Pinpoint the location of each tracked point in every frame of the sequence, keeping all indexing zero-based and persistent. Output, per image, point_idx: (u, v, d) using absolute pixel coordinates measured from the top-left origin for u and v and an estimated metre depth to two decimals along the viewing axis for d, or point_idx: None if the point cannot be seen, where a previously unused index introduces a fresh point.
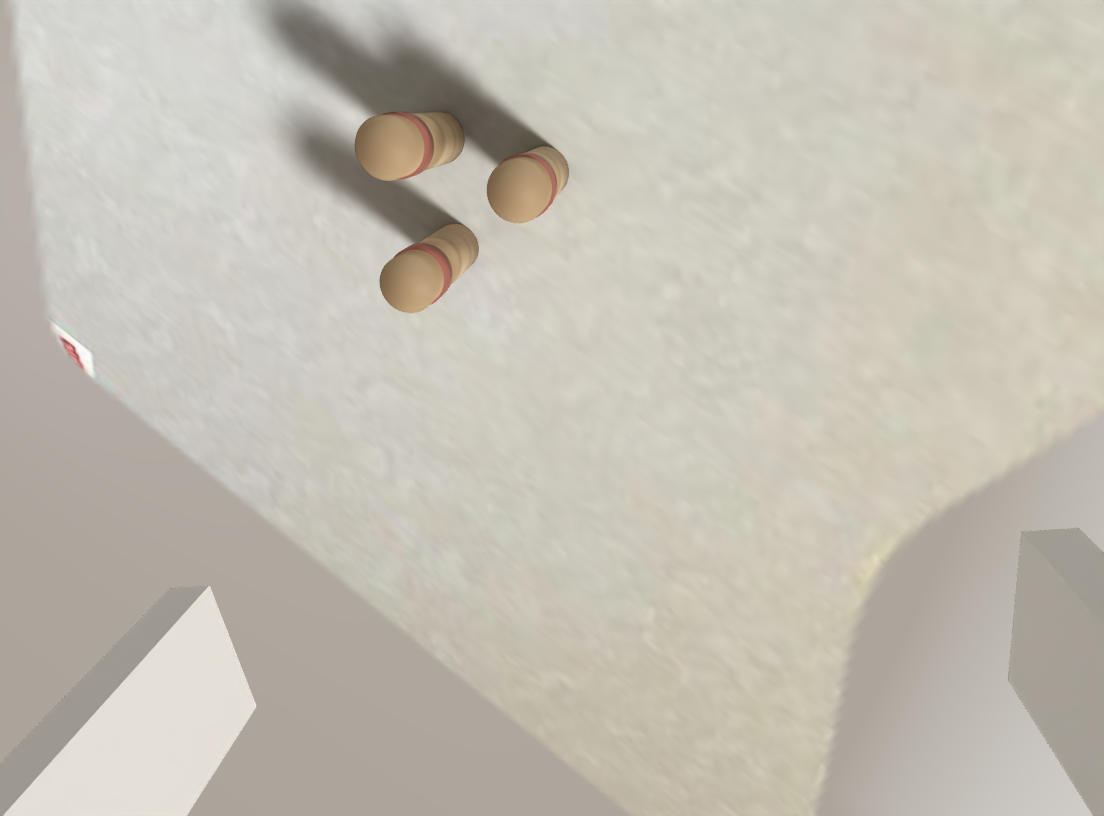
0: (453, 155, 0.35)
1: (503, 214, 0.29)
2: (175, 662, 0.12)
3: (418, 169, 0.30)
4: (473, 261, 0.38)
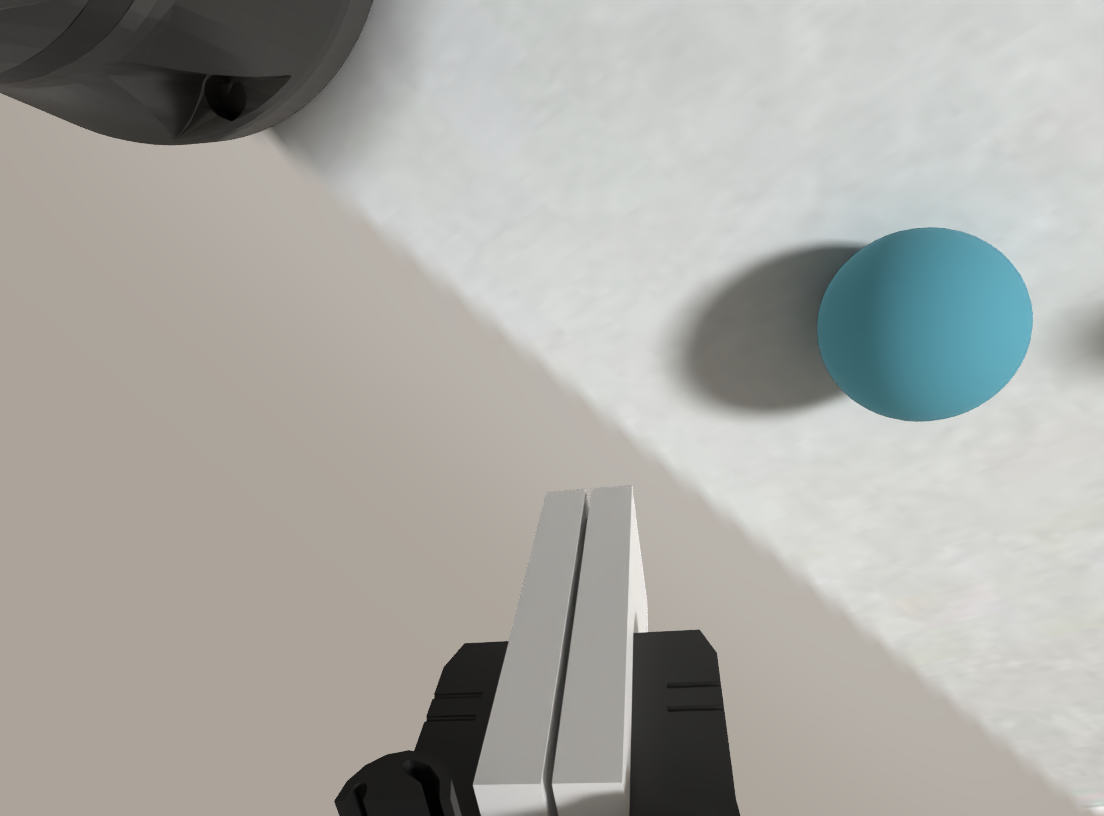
0: None
1: None
2: None
3: None
4: None
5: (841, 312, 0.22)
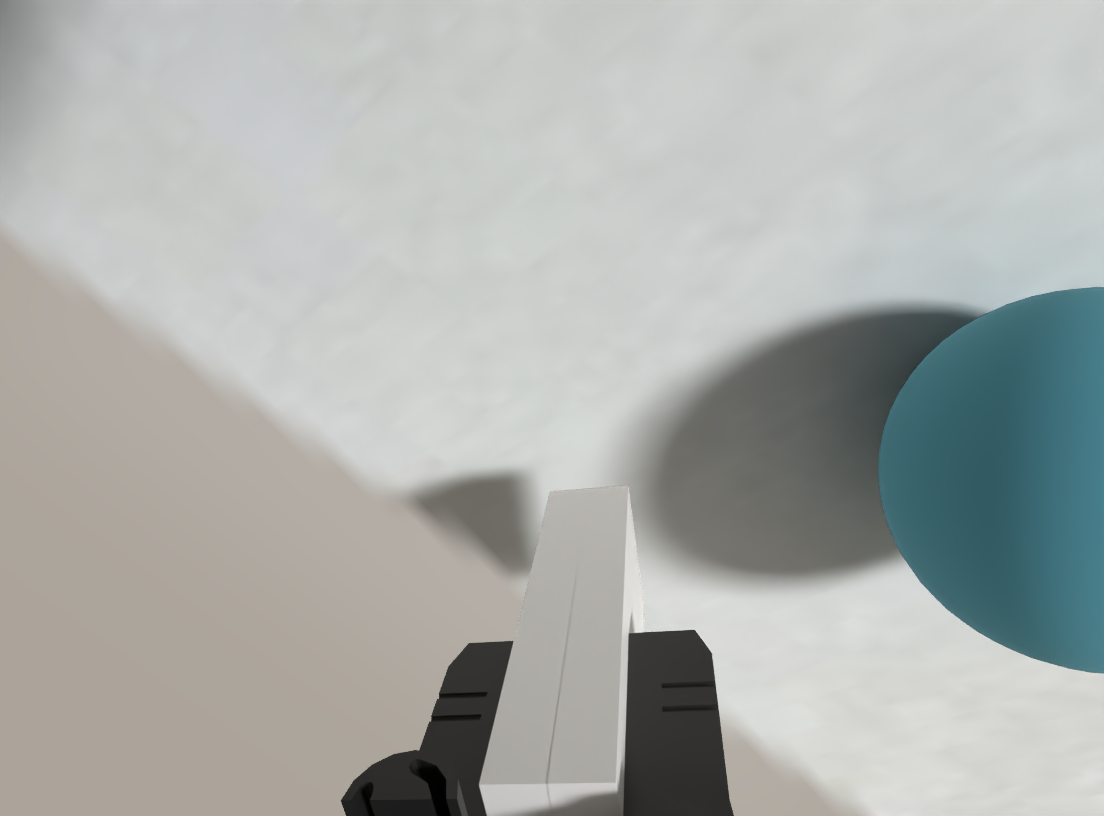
0: None
1: None
2: None
3: None
4: None
5: (937, 472, 0.11)
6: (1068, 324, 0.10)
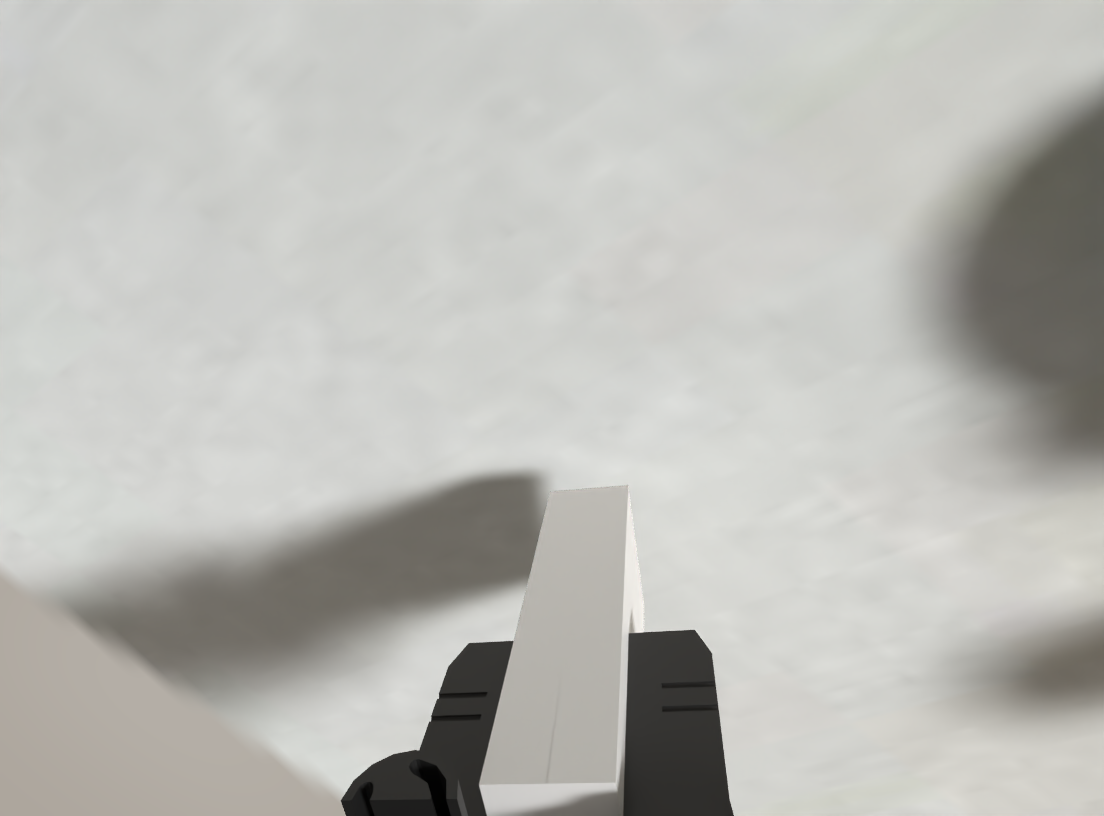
0: None
1: None
2: None
3: None
4: None
5: None
6: None
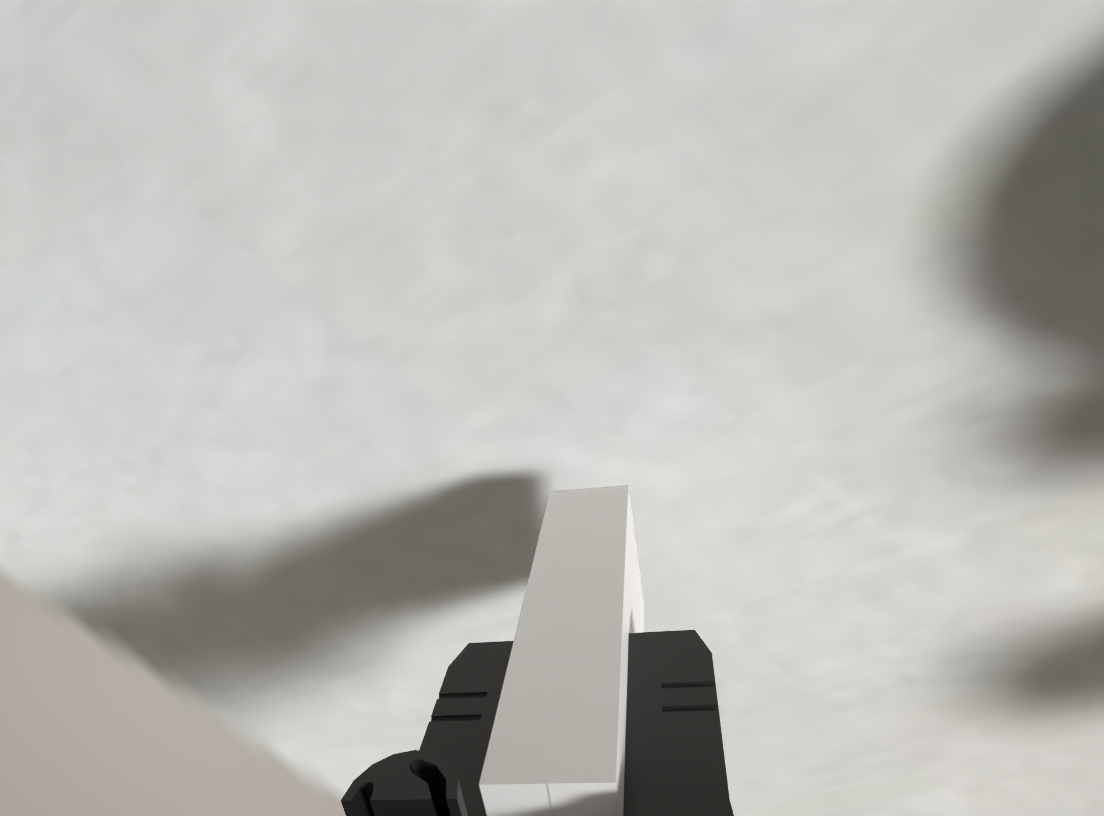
0: None
1: None
2: None
3: None
4: None
5: None
6: None
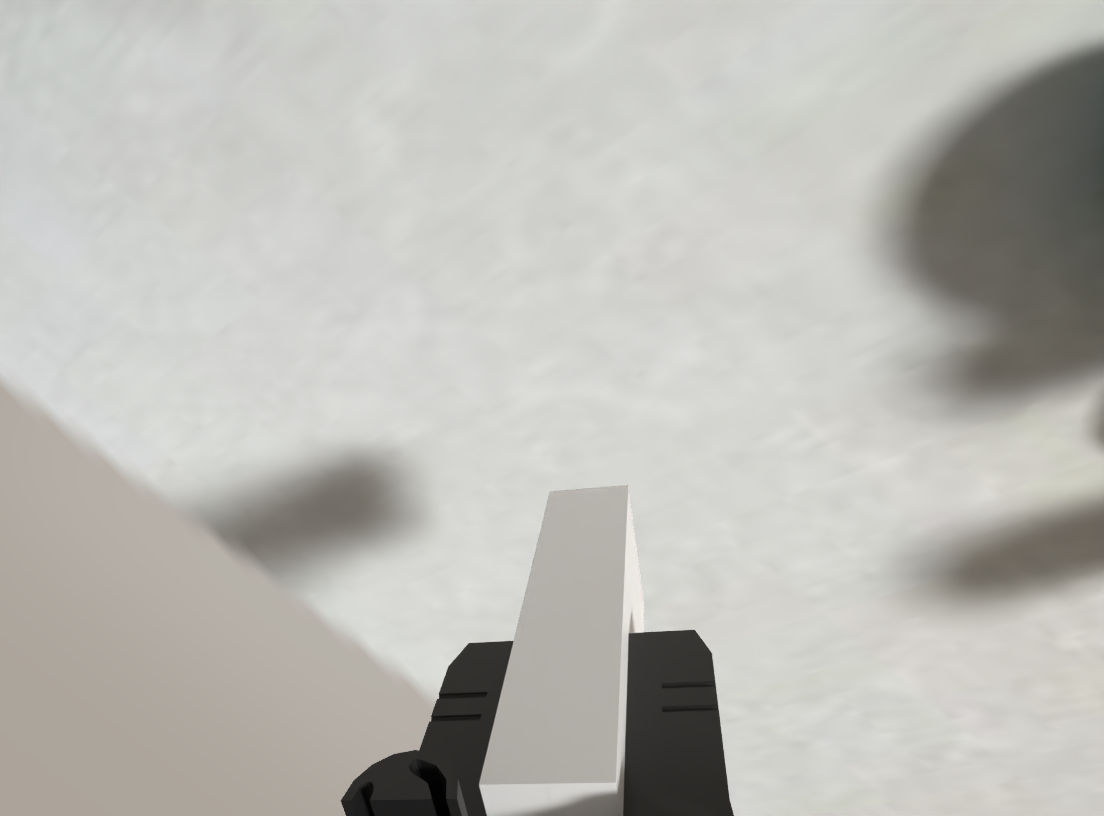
0: None
1: None
2: None
3: None
4: None
5: None
6: None
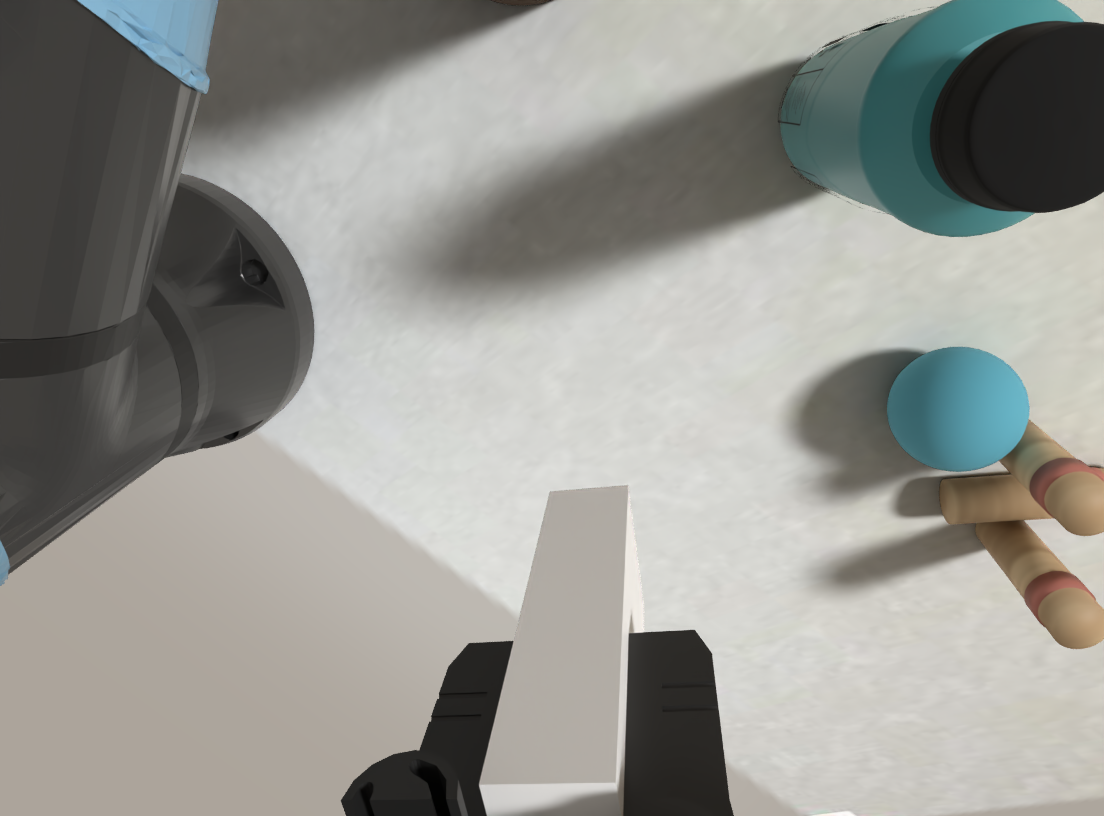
0: None
1: (1097, 530, 0.31)
2: None
3: None
4: None
5: (895, 438, 0.36)
6: (894, 384, 0.36)
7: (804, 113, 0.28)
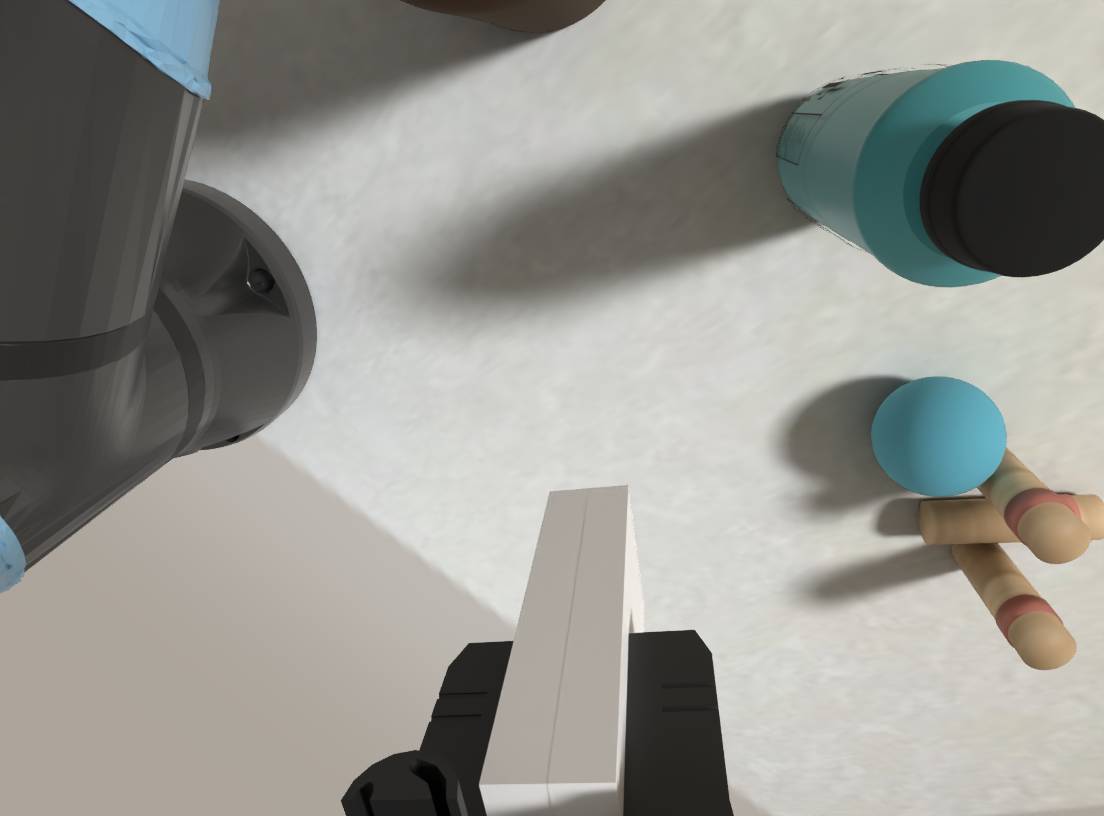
0: None
1: (1066, 559, 0.33)
2: None
3: None
4: None
5: (878, 462, 0.38)
6: (878, 410, 0.38)
7: (802, 154, 0.29)
